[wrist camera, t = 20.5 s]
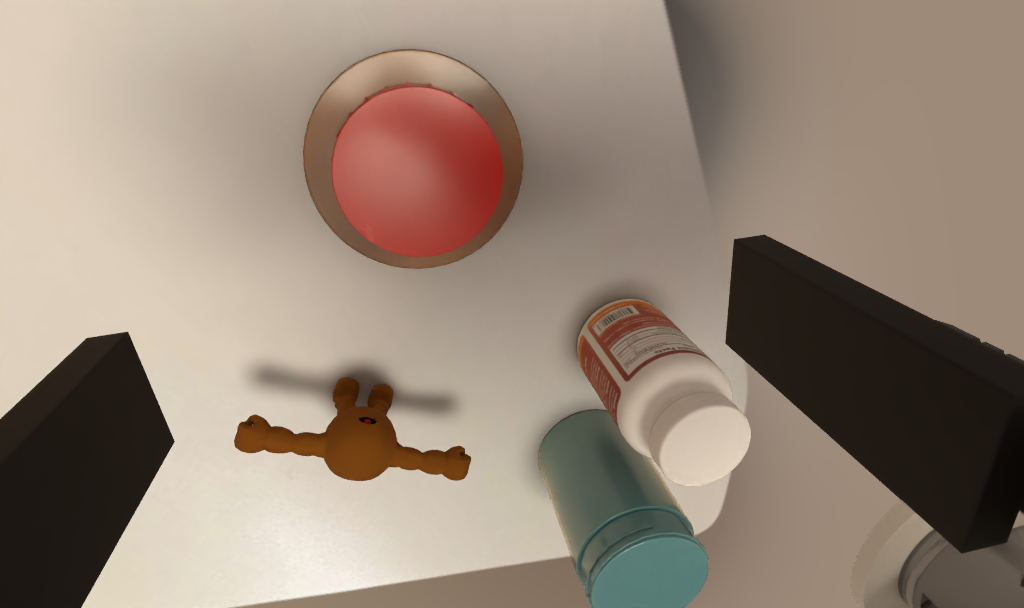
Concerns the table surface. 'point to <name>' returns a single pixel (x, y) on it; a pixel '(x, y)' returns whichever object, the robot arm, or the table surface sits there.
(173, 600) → the table surface
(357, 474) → the toy figurine
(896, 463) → the robot arm
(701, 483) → the pill bottle
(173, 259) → the table surface
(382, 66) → the coaster
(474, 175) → the cap
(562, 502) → the jar
